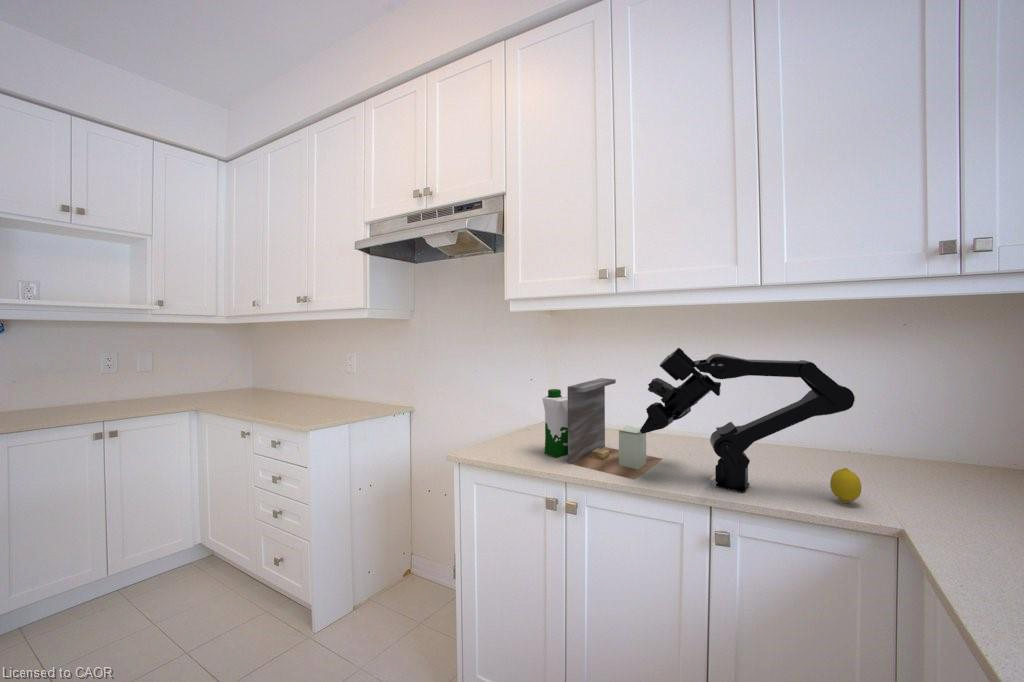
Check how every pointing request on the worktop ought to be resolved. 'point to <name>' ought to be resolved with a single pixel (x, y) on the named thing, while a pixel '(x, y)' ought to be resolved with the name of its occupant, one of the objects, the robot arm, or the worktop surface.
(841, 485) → the lemon
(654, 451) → the worktop surface
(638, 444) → the pale green lidded box
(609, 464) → the dock
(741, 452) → the robot arm
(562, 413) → the milk carton
